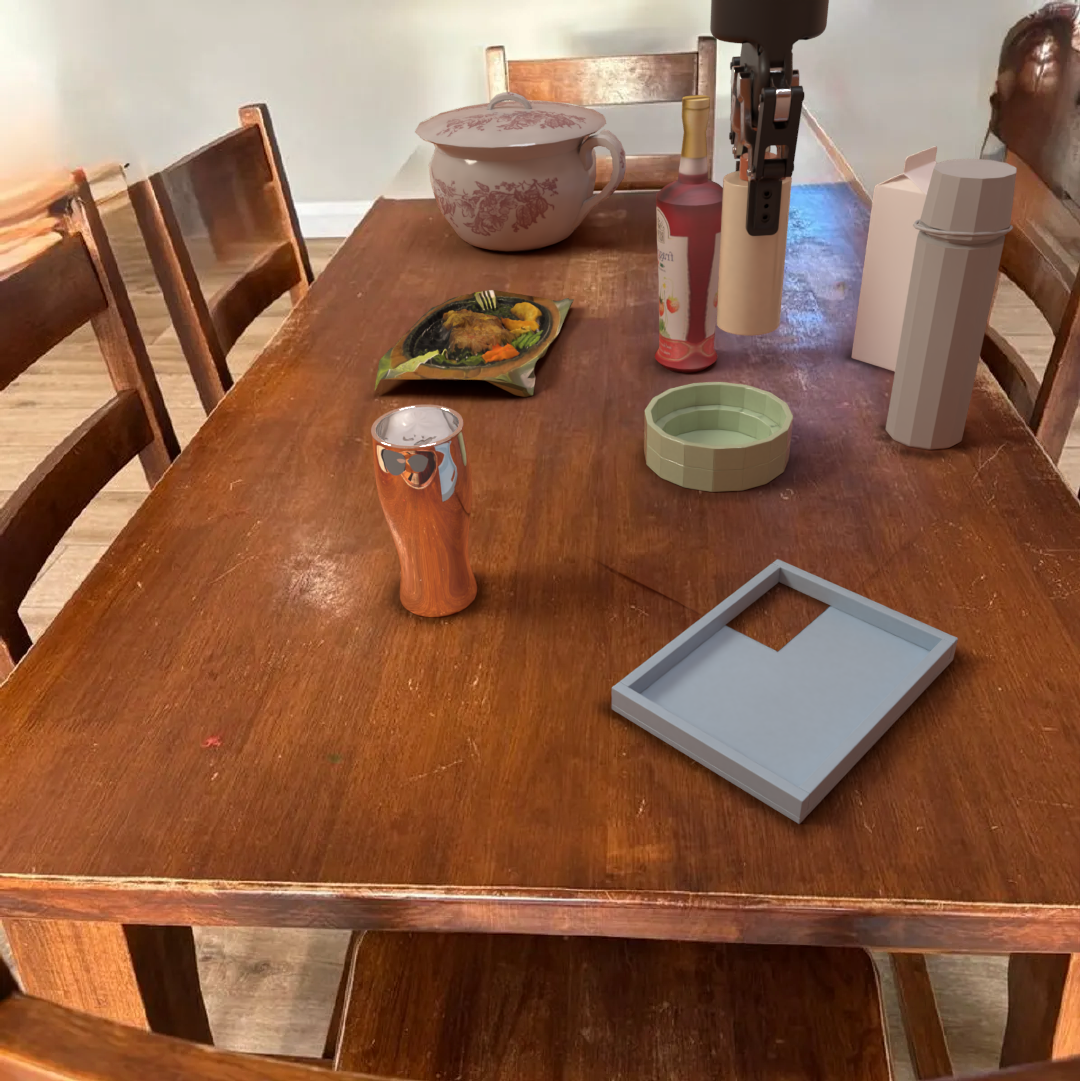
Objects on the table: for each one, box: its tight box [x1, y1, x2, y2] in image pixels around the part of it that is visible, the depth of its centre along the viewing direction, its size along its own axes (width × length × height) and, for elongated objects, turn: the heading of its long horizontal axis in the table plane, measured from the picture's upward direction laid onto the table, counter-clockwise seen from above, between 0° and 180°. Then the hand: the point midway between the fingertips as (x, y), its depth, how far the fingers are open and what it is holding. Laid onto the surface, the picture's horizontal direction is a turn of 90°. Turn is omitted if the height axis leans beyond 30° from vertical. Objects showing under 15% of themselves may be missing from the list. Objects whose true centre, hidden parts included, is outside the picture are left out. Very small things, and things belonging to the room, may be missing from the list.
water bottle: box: [885, 158, 1018, 451], centre depth 91 cm, size 9×8×25 cm
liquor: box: [654, 94, 723, 374], centre depth 105 cm, size 7×7×28 cm
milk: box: [851, 145, 938, 373], centre depth 106 cm, size 6×6×22 cm
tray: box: [611, 558, 959, 825], centre depth 69 cm, size 20×15×2 cm
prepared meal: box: [373, 289, 575, 398], centre depth 119 cm, size 28×4×18 cm
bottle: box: [716, 151, 793, 337], centre depth 75 cm, size 5×5×12 cm
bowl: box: [643, 381, 794, 493], centre depth 94 cm, size 13×13×5 cm
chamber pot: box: [414, 91, 627, 253], centre depth 148 cm, size 28×28×21 cm
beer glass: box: [370, 404, 478, 618], centre depth 76 cm, size 7×7×15 cm
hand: (754, 221), depth 74 cm, fingers closed on bottle, 4 cm apart
